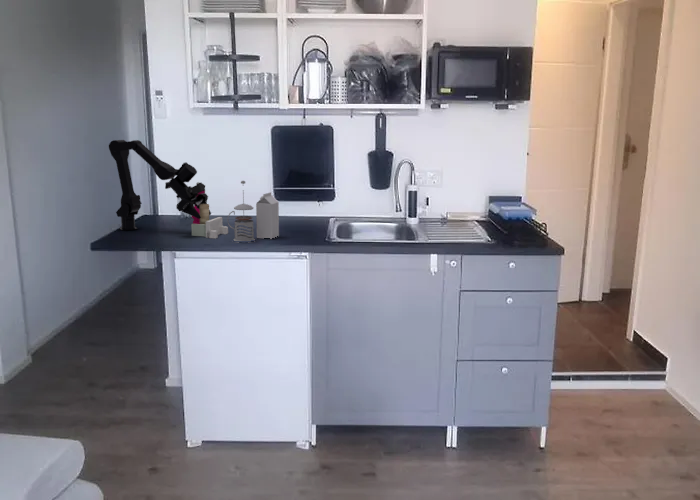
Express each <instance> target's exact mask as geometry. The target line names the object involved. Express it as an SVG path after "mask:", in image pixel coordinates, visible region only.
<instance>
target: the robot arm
mask: <svg viewBox="0 0 700 500" xmlns="http://www.w3.org/2000/svg"><path fill="white" fill-rule="evenodd" d="M108 149H109V152H110V155H111V157H112V158H113V159H114V161H115V162H116V169H117V172H118V177H119V182H120V183H119V184H120V188H121V192H122V193H121V194H122V195H121V197H120V207H119V208H118V209H117V211H115V213H116V216H117V217H119V218H120V222H121V226H120V227H119V229H120V230H121V231H133V230H136V231H137V230H138V228H137V227H136V220H135V215H138V214H139V210H140V209H141V207H142V206H141V205H142V201H141V196H140V195H139V194H138V195H137V194H136V192H135V190H134V185H133V181H132V176H131V170H130V165H129V161H128V160H129V155H130V150H133V151H134V152H135V153H136V154H137V155H138V156H139V157H141V158H142V160H144V161H145V162H146V163H147V164H149V166H150V167H151V168H152V169H153V172H154V173H155V175H156V176H157V177H158V179H160V180H161V181H167V180H169V181H167V182H165V189H166V190H168V189H172V191H173V192H174V193H175V194H176V198H177V199H180V201H178V203H177V204H176V205H175V206H176V209H177V211H178V212H181V213H185V214H187V215H190V216H191V217H192V216H194V217H196V218H198V219H200V218H201V216H200V215H199V213H198V212H197V210H196V209H195V208H194V205H195V206H197V208H198V209H200V204H208V199H209V195H207V193H206V184H205V183H202V182H199V183H198V184H197V185H196V184H195V185H194V186H191V185H190V186H188V185H187V184H186V183H189V182H190V181H191V180H192V179H193V178H194V177H195V176H196V175H197V174H198V170H197V169H196V168H195V167H194V166H193V165H191V164H190V163H189V164H188V162H183V163H182V164H181V166H180V167H179V168H178V169H177V168H175V167H174V166H172V165H171V164H170V163H168V162H165V161H163V160H162V159H160V158H159V157H158V156H157V155H155V153H153V152H152V151H151V150H150V149H149V148H148V147H147V146H146V145H144V143H142V141H140V140H139V139H138V140H137V139H135V140H134V139H133V140H131V141H127V140H124V139H116V140H115V139H114V140H112V141H110V142H109V143H108ZM202 191H205V193H202V194H198V193H200V192H202ZM196 196H197V197H196ZM211 215H212V212H211V210H210V209H209V216H211Z"/></svg>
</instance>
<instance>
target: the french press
mask: <svg viewBox="0 0 700 500" xmlns="http://www.w3.org/2000/svg"><path fill="white" fill-rule="evenodd" d="M240 184H242V185H244V184H246V181H245V180H241V181H240ZM244 194H245V192H244V191H242V203H241V204H237V205H236V206H234V207H233V209H234V210H232V211H230V212H229V213H228V215H227V225H228V227H230V228H231V229H233V231H234V238H233V240H234V241H251V240H255V239H256V238H255V235H254V234H255V233H254V220H253V216H250V215H249V216H248V215H245V211H252V210H254V207H253V206H252V205H251V204H248V203H247V204H246V203H245V201H244V200H245V199H244V197H245V196H244ZM235 210H237V211H242V213H243V215H239V216H237V215H236V216H235V214H236V212H235ZM232 213H233V215H234V216H235V218H234V219H235V220H234V227H233V226H231V224H230V222H229V216H230V215H231V214H232Z"/></svg>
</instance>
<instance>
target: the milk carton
mask: <svg viewBox="0 0 700 500" xmlns="http://www.w3.org/2000/svg"><path fill="white" fill-rule="evenodd" d="M255 207H256V209H255V213H256V217H255V218H256V238H257V239H264V238H270V239H269V240H273V239H272V238H274V239H276V238H278V237H280V220H279V215H280V214H279V210H280V207H279V201H278V200H277V199H276V198H275V197H274V196H273V195H272V191H271V192H268V193H263V194H262V196H260V197H259V200H258V201H257V202H256V205H255ZM277 236H278V237H277ZM275 237H276V238H275Z"/></svg>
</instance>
